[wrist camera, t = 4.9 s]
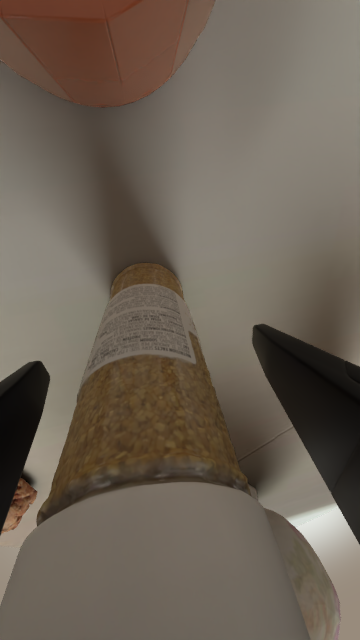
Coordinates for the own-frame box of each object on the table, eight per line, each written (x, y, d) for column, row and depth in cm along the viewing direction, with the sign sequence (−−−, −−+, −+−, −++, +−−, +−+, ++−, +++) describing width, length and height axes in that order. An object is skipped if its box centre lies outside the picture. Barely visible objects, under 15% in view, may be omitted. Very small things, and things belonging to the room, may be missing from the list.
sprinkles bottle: (175, 328, 16) (255, 699, 4) (108, 322, 15) (-12, 774, 3) (189, 265, 14) (418, 681, 2) (111, 253, 13) (-196, 880, 1)
